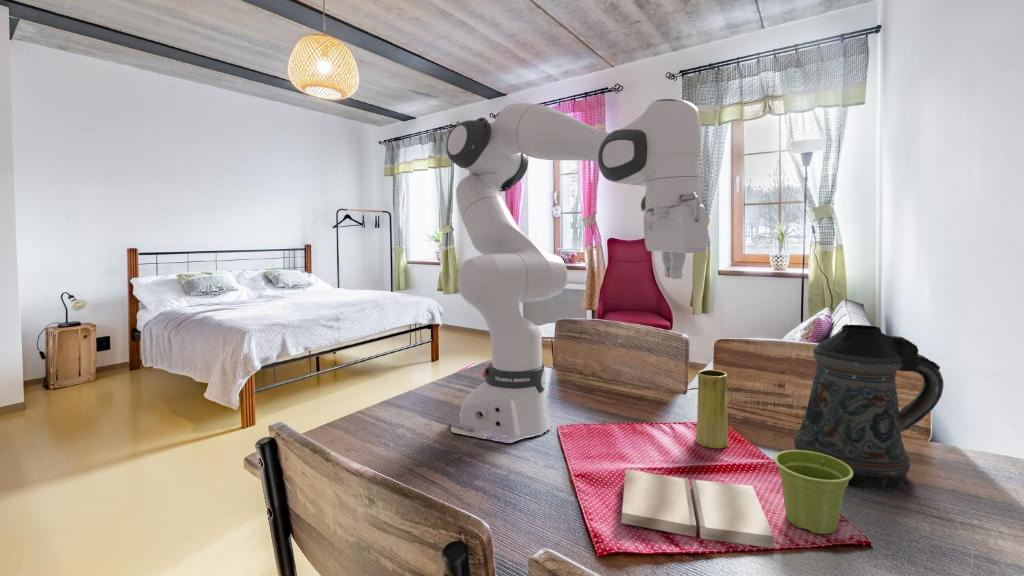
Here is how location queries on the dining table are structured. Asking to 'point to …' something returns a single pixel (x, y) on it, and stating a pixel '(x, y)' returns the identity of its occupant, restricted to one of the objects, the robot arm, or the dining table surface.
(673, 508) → the loose plank
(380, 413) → the dining table surface
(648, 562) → the dining table surface
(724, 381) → the vase
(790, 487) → the plant pot
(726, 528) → the board
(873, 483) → the beer stein
